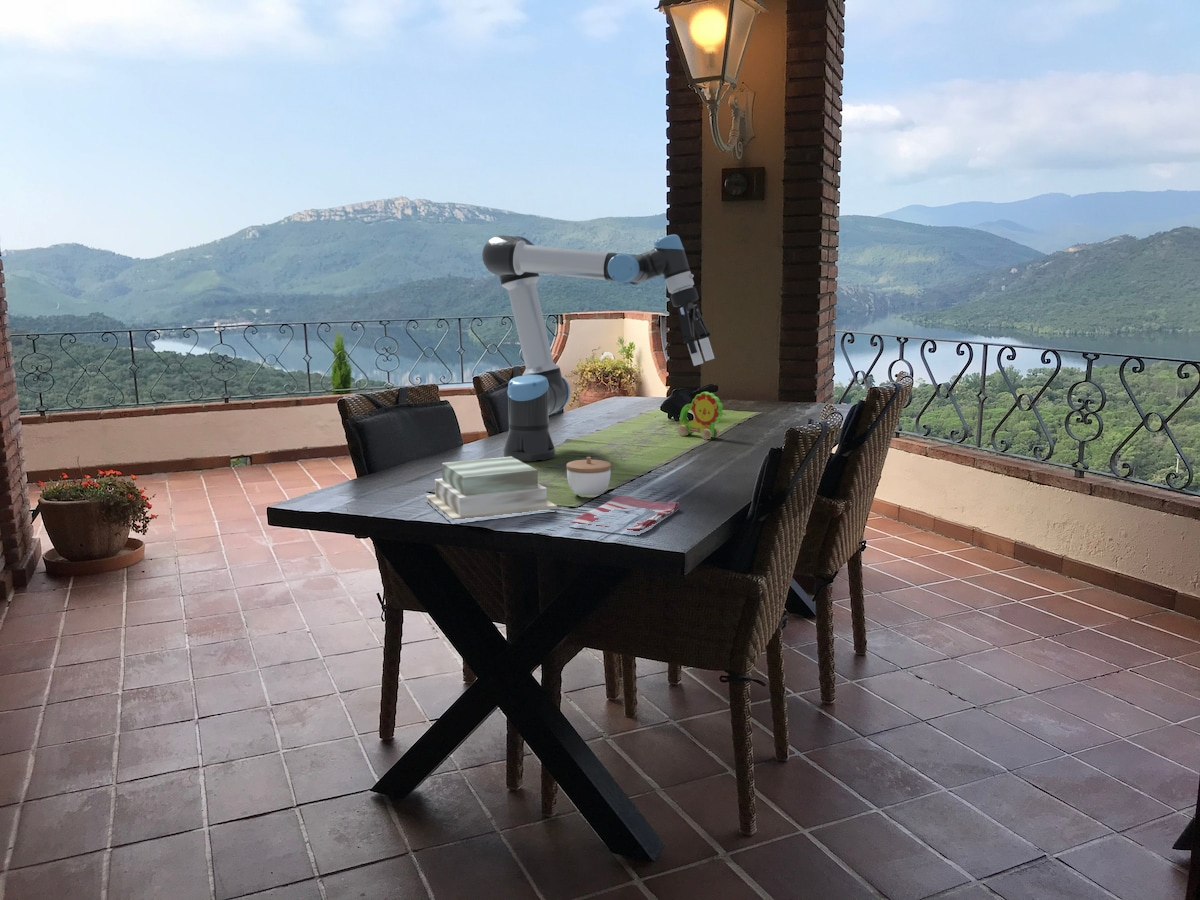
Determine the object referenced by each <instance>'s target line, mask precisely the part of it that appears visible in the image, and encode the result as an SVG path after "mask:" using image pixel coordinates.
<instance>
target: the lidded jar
mask: <svg viewBox="0 0 1200 900" xmlns="http://www.w3.org/2000/svg"><path fill="white" fill-rule="evenodd" d="M611 469H612V464H611V462H609V461H606V460H599V459H592V457H591V456H586V459H579V460H578V459H576V460H573V461H572V460H571V461H569V462H567V463H566V477H567V482H568V485H569V488H570V490H571V491H572V492H573V493H574V494H575V495H576V494H578V495H600V494H602V495H603V494H604V493H605V492H606V490H607V489H608V487H609V486H610V480H611V475H612V473H611Z"/></svg>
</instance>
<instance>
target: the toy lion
mask: <svg viewBox="0 0 1200 900" xmlns="http://www.w3.org/2000/svg"><path fill="white" fill-rule="evenodd" d="M689 411H692V413H693V415H694V417H693V418H694V419H692V420H690V421H688V412H689ZM723 413H724V412H723V403H722V402H721V400H720V398H719V396H716V395H715V393H712V392H711V393H710V392H709V391H703V392H700V393H699V394H698V393H697V394H696V395H695V396H694V398H693V399H692V401H691V403H687V404H685V405H684V406H683V407H682V409H681V411H680V416H679V425H678V427H677V428H676V429H677V433H678V435H679V436H681V437H685V436H688V434H690V435H693V434H694V432H695V433H698V434H700V437H701V438H702V439H703V440H704V439H709V440H711V439H716V438H718V436H719V433H720V431H719V429H718V428H717V426H715V424H718V423H719V422H720V419H721V418H722V417H723V415H724V414H723ZM711 437H712V438H711Z"/></svg>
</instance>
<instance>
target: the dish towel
mask: <svg viewBox="0 0 1200 900" xmlns="http://www.w3.org/2000/svg"><path fill="white" fill-rule="evenodd" d="M679 505H680V502H679V501H678V502H677V501H671V502H665V501H653V500H646V499H641V498H637V497H633V496H629V495H615V496H613V497H612V498H610V499H609V500H608V501H607V502H605V503H603V504H601V505H599V506H597V507H596V508H593V509H591V510H590V511H587V512H584V513H583V514H581V515H579V516H577V517H576V518H574V520H572V521H570V522H569V523H578V524H588V525H592V524H589V522H593V521H595V520H598V519H599V518H594V516H597V515H599V514H600V513H601V512H609V511H611V510H614V509H617V508H621V509H627V508H634V509H635V508H646V509H650V510H653V511H655V512H657V513H658V514H657V515H655V516H652V517H650V518H649V519H647V520H646V521H644V522H642V523H637V524H638V525H636V526H634V527H633V528H622V529H627V530H633V531H640V530H644V529H645V528H647V527H649V526H651V525H652V524H655V523H657V522H658V521H659V520H660V519H662V518H664V517H666V516H668V515H670V514H671V513H673V512H675V511H676V510H677V509H679V510H680V506H679ZM596 526H604V525H596ZM605 527H610V526H605Z"/></svg>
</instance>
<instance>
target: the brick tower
mask: <svg viewBox="0 0 1200 900" xmlns="http://www.w3.org/2000/svg"><path fill="white" fill-rule="evenodd" d="M441 470H442V477H441V478H435V479H434V494H431V495H429V494H428V495H425V501H426V500H428V501H429V502H430V503H431V504H433V505H434V506H435V507H437V508H438V509H439V510H440V511H442V512H443V513H444V514H446V515H447V516H448V517H450V518H451V519H452V520H454V519H465V518H474V517H485V516H494V515H503V514H512V513H522V512H529V511H538V510H547V509H557V510H558V505H557V504H556V503H553V502H552V501H550V500H548V499H547V498H548V497H547V496H548V495H547V493H548V491H547V489H548V488H547V487H546V486H544V485H542V484H540V483H539V480H538V479H539V476H538V475H539V474H538V469H536V468H534V467H533V466H531V465H529V464H527V463H525V462H524V461H519V460H517V459H515V458H513V457H512V456H510V457H504V456H502V457H491V458H479V459H469V460H460V461H448V462H447V461H446V462H442V463H441Z"/></svg>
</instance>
